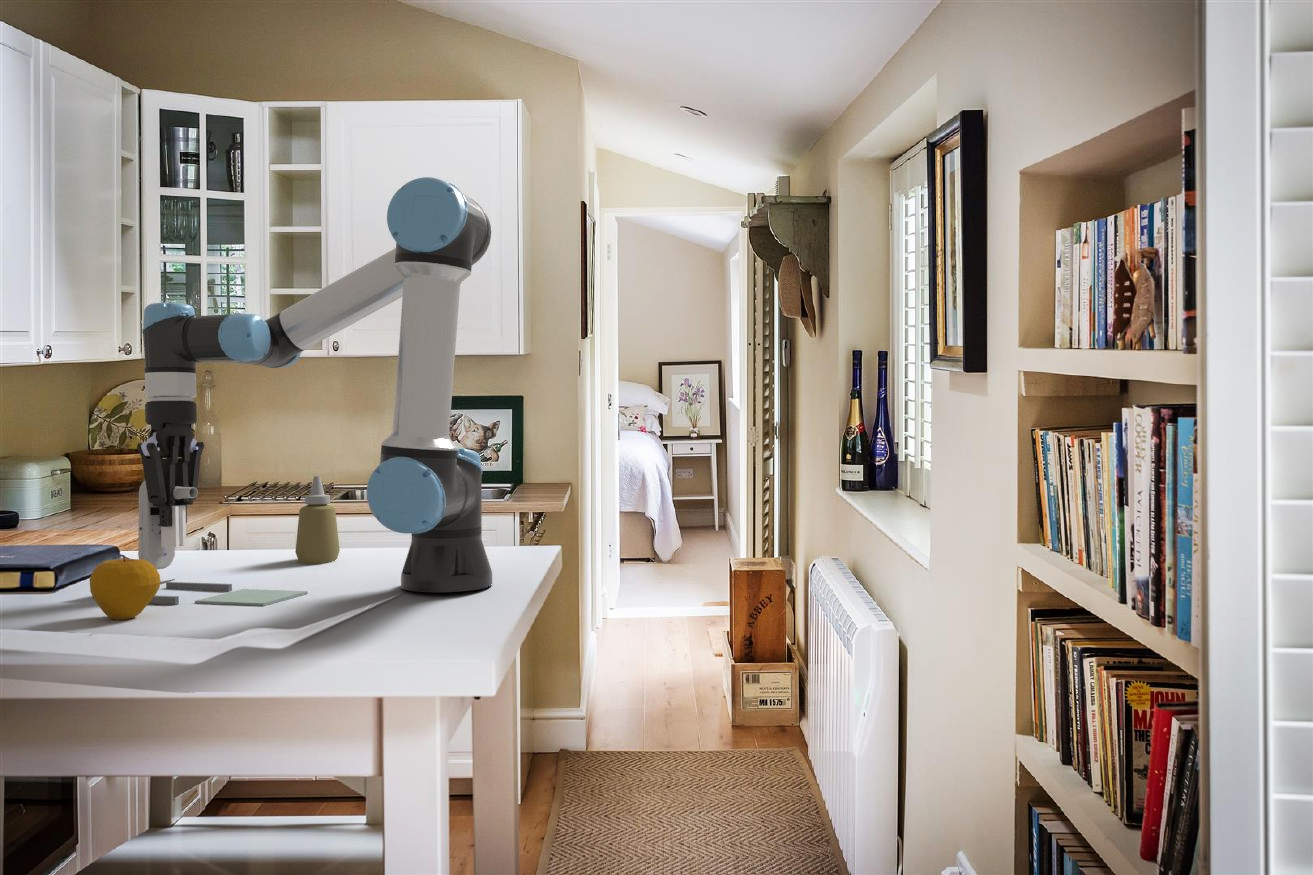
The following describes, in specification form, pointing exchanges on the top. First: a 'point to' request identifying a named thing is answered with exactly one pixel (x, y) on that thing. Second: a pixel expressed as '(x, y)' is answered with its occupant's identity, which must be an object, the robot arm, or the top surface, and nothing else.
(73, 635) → the top surface
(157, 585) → the apple
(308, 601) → the top surface
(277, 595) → the mat
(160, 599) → the dock
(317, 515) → the squeeze bottle
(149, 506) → the electronic device
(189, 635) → the top surface
